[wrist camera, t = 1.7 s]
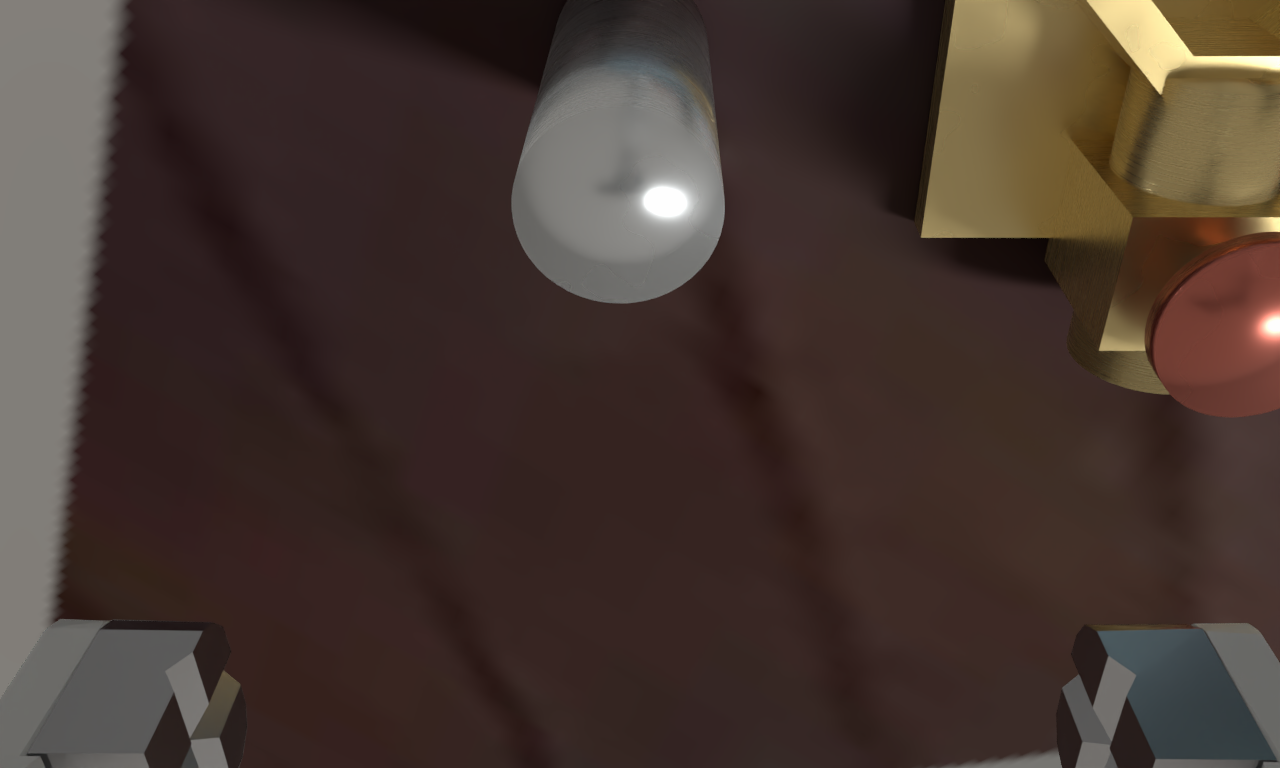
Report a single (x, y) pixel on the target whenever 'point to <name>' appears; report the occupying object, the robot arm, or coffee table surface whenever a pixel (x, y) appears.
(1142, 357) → the brass valve fitting
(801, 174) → the coffee table surface
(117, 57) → the coffee table surface
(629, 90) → the silver metal cylinder
